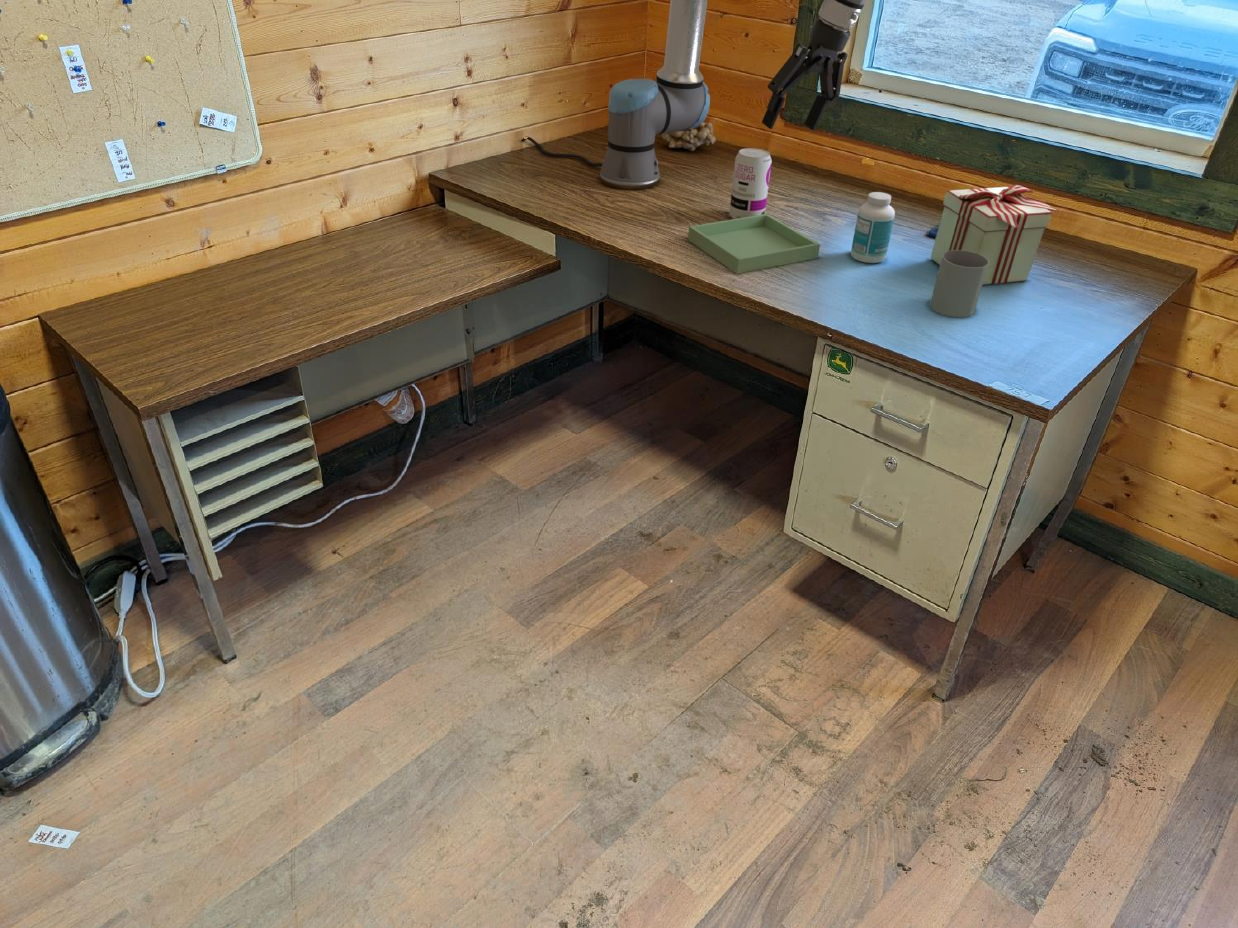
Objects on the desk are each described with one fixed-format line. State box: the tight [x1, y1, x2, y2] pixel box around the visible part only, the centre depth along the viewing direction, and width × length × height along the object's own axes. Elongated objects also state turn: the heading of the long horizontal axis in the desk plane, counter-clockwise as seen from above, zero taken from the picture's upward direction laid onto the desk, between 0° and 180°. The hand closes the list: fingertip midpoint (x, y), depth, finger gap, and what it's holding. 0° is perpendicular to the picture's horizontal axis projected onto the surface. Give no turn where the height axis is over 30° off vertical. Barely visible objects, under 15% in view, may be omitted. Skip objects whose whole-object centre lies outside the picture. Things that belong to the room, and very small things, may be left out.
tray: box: [687, 213, 821, 274], centre depth 190 cm, size 20×21×3 cm
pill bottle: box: [850, 191, 896, 264], centre depth 185 cm, size 8×7×14 cm
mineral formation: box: [661, 121, 717, 152], centre depth 248 cm, size 8×13×15 cm
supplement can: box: [728, 147, 773, 220], centre depth 202 cm, size 8×8×15 cm
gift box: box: [930, 184, 1061, 286], centre depth 180 cm, size 17×18×17 cm
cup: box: [929, 250, 989, 319], centre depth 168 cm, size 8×8×10 cm
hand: (788, 126), depth 187 cm, fingers open, 13 cm apart
